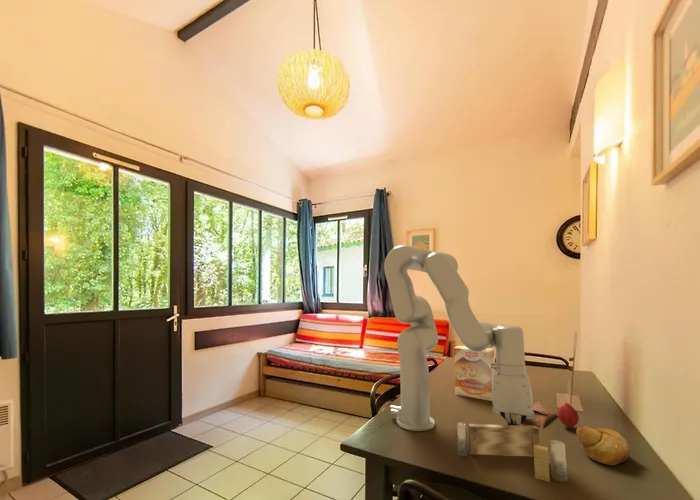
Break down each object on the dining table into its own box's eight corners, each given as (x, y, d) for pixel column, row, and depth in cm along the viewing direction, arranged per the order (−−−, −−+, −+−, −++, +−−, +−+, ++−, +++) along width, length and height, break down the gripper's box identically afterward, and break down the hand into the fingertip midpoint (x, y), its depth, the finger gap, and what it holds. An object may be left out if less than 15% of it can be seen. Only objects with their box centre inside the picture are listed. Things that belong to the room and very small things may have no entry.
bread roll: (603, 445, 97) (601, 416, 98) (643, 462, 88) (640, 430, 89) (573, 454, 92) (571, 423, 93) (613, 472, 83) (610, 438, 84)
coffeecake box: (454, 394, 141) (453, 347, 143) (459, 390, 147) (458, 344, 149) (492, 401, 133) (490, 351, 135) (496, 396, 139) (494, 348, 141)
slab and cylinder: (535, 478, 80) (533, 443, 81) (535, 469, 84) (533, 435, 85) (567, 486, 77) (565, 449, 78) (566, 476, 81) (564, 442, 82)
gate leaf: (470, 454, 91) (469, 426, 91) (469, 451, 92) (468, 423, 93) (540, 457, 89) (538, 428, 90) (537, 453, 91) (535, 425, 92)
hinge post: (457, 455, 91) (456, 424, 92) (459, 451, 93) (458, 421, 94) (466, 457, 90) (465, 426, 91) (468, 453, 92) (467, 423, 93)
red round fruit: (559, 422, 113) (558, 397, 114) (580, 427, 109) (578, 401, 110) (557, 428, 108) (555, 402, 109) (578, 433, 105) (576, 406, 105)
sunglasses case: (544, 429, 107) (531, 407, 110) (524, 435, 111) (513, 414, 114) (560, 414, 120) (548, 395, 123) (542, 420, 124) (531, 401, 127)
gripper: (480, 369, 96) (484, 436, 94) (541, 376, 89) (545, 449, 87) (484, 364, 103) (487, 427, 101) (540, 369, 95) (545, 437, 93)
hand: (514, 437), depth 94 cm, fingers closed
